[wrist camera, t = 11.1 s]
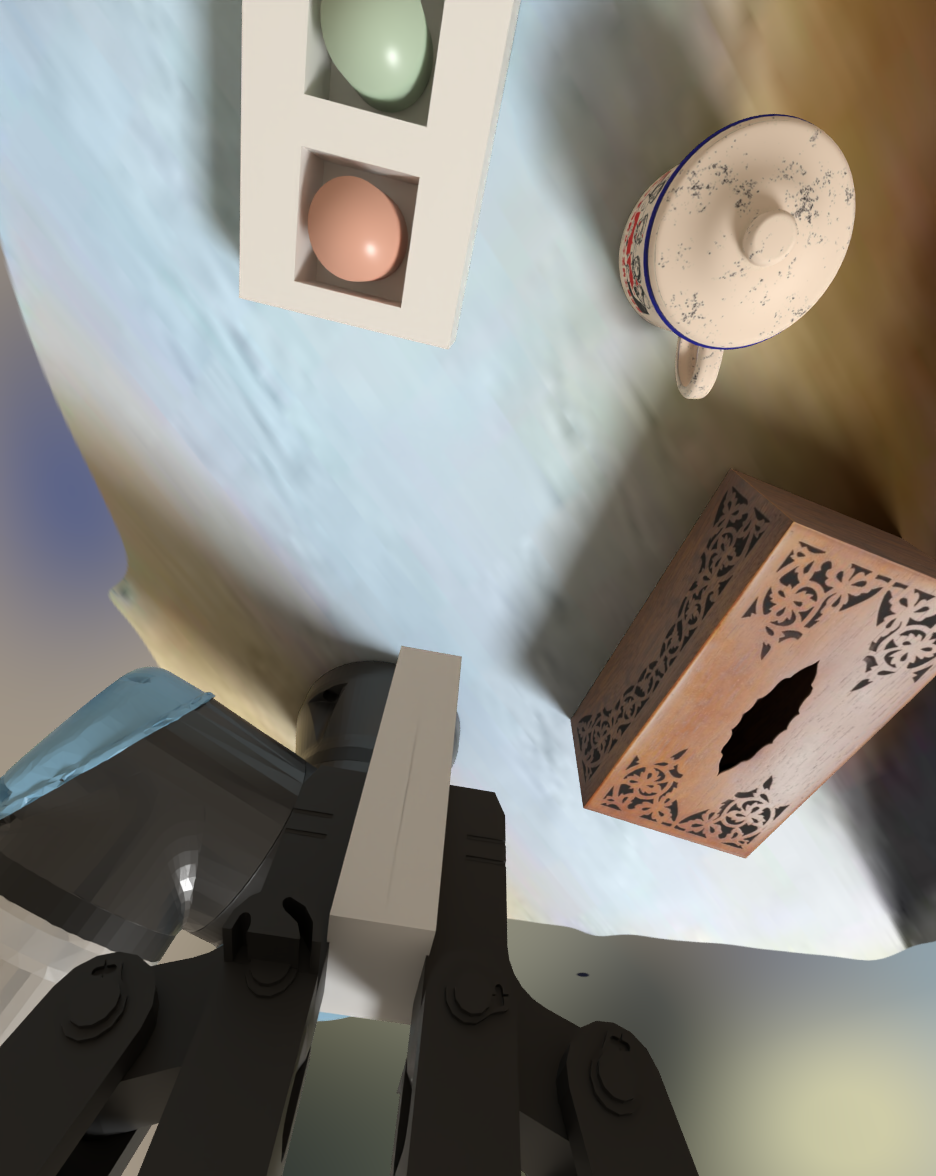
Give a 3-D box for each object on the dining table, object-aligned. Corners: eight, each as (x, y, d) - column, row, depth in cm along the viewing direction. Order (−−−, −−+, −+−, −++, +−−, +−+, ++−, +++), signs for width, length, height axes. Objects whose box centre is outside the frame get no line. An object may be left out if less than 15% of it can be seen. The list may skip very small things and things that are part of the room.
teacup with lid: (625, 154, 31) (683, 92, 20) (793, 153, 30) (938, 90, 20) (598, 381, 36) (633, 421, 26) (738, 384, 36) (828, 425, 26)
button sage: (424, 122, 29) (413, 101, 26) (339, 99, 29) (316, 75, 25) (441, 4, 27) (431, -36, 23) (348, -22, 27) (325, -66, 23)
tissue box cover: (706, 763, 53) (745, 858, 44) (570, 718, 51) (583, 807, 43) (899, 537, 41) (1006, 607, 32) (729, 467, 39) (793, 521, 30)
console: (455, 340, 36) (448, 349, 31) (272, 295, 35) (239, 297, 31) (575, -283, 23) (590, -410, 19) (296, -370, 23) (247, -523, 18)
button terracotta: (401, 289, 33) (388, 291, 30) (325, 270, 33) (304, 269, 29) (414, 198, 31) (402, 188, 27) (333, 177, 31) (310, 164, 27)
